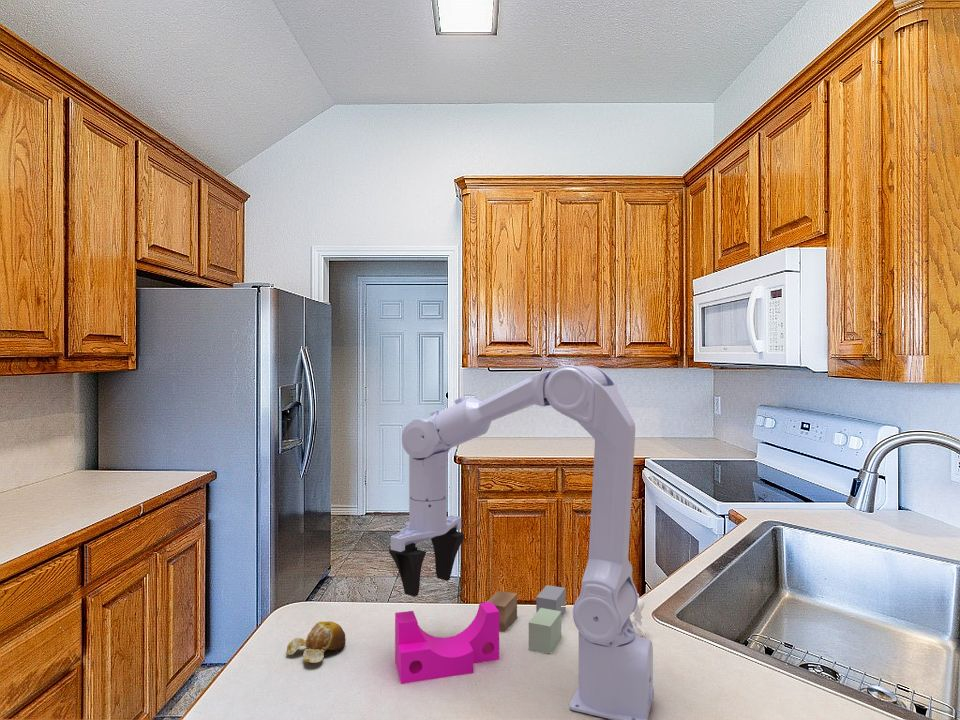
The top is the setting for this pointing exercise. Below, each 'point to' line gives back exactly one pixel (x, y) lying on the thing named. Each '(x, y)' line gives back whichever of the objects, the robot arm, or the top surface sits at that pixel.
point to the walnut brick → (505, 608)
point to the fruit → (319, 641)
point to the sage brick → (544, 630)
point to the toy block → (445, 647)
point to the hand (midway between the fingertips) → (427, 586)
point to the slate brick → (552, 599)
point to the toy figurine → (638, 617)
